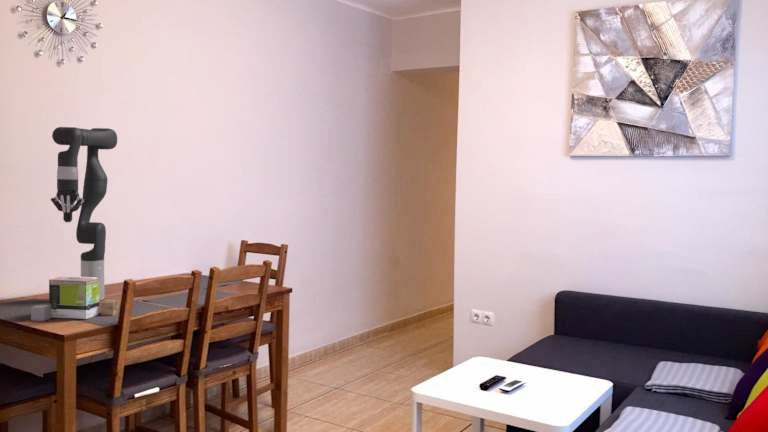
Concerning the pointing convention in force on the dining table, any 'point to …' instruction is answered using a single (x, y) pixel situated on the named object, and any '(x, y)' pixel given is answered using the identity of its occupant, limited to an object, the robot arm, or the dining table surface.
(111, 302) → the brown box
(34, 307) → the slate block
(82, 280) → the tea box
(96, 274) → the robot arm
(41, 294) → the dining table surface
